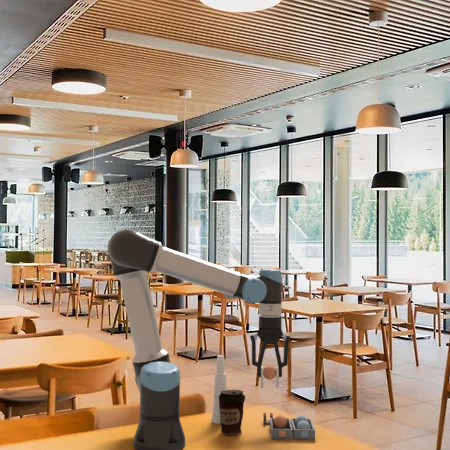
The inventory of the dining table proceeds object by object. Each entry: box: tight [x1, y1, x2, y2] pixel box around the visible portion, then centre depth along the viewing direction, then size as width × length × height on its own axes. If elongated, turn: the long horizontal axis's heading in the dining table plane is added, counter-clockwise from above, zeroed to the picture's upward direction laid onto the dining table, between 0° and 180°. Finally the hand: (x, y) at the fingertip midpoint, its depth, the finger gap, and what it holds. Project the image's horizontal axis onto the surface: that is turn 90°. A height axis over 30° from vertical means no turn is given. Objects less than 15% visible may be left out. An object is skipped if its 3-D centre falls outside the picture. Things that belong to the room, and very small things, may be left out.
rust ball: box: [273, 414, 287, 429], centre depth 196 cm, size 4×4×4 cm
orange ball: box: [263, 365, 276, 381], centre depth 202 cm, size 4×4×4 cm
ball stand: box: [262, 412, 274, 426], centre depth 203 cm, size 3×3×3 cm
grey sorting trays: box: [269, 417, 316, 441], centre depth 193 cm, size 13×12×3 cm
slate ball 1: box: [295, 414, 309, 427], centre depth 196 cm, size 4×4×4 cm
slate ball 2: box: [296, 421, 311, 430], centre depth 190 cm, size 4×4×4 cm
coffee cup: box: [219, 389, 246, 436], centre depth 193 cm, size 9×8×13 cm
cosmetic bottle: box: [210, 354, 228, 425], centre depth 205 cm, size 6×6×22 cm
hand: (269, 386), depth 202 cm, fingers closed on orange ball, 4 cm apart
